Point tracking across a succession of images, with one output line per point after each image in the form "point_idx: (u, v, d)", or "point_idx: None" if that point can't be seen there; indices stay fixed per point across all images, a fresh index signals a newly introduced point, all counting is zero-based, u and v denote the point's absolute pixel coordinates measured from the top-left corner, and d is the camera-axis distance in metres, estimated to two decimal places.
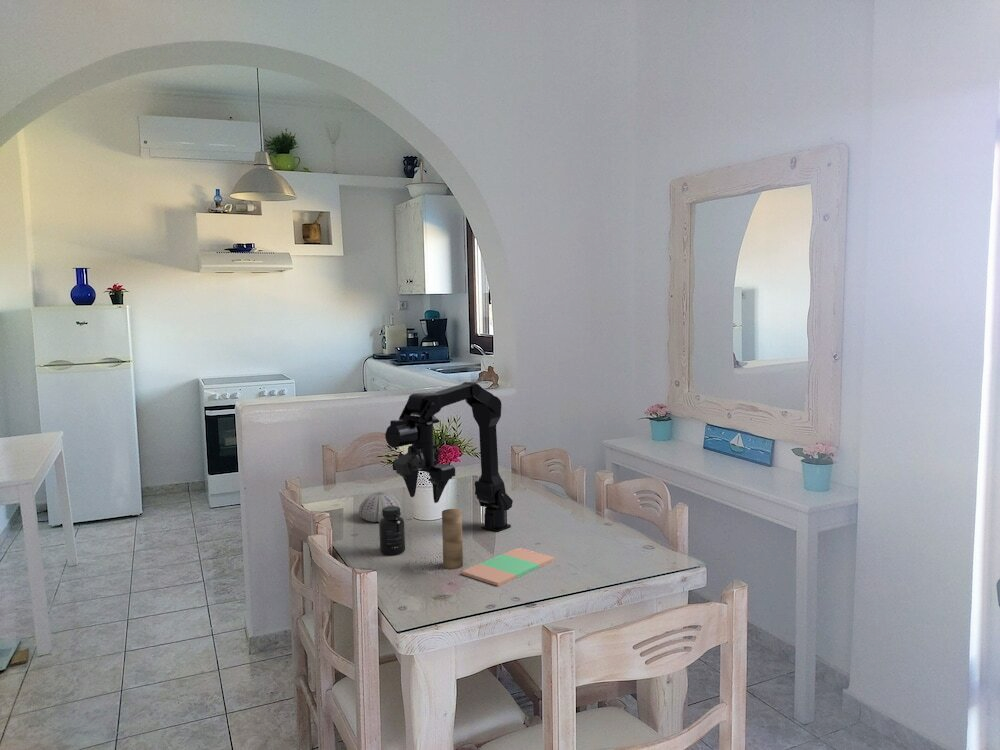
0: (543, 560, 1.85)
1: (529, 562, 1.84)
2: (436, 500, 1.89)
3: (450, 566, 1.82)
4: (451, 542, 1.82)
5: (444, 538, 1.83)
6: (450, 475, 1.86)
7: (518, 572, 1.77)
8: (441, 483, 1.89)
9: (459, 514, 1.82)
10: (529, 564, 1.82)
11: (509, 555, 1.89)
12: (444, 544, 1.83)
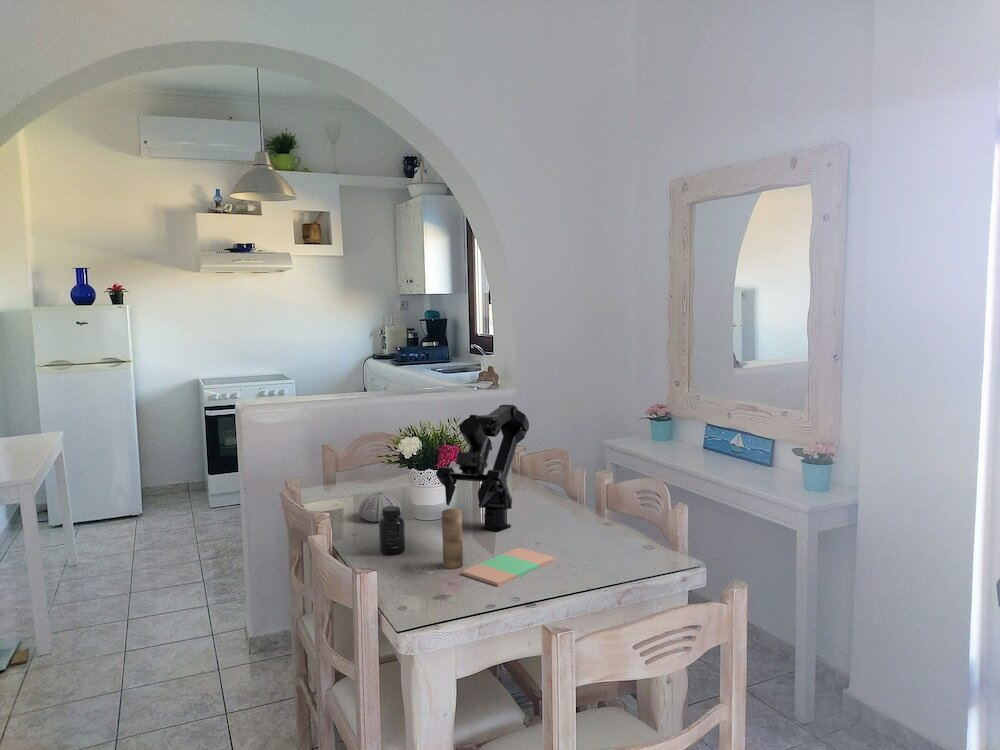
0: (543, 560, 1.85)
1: (529, 562, 1.84)
2: (481, 504, 1.90)
3: (450, 566, 1.82)
4: (451, 542, 1.82)
5: (444, 538, 1.83)
6: (504, 484, 1.93)
7: (518, 572, 1.77)
8: (489, 491, 1.93)
9: (459, 514, 1.82)
10: (529, 564, 1.82)
11: (509, 555, 1.89)
12: (444, 544, 1.83)
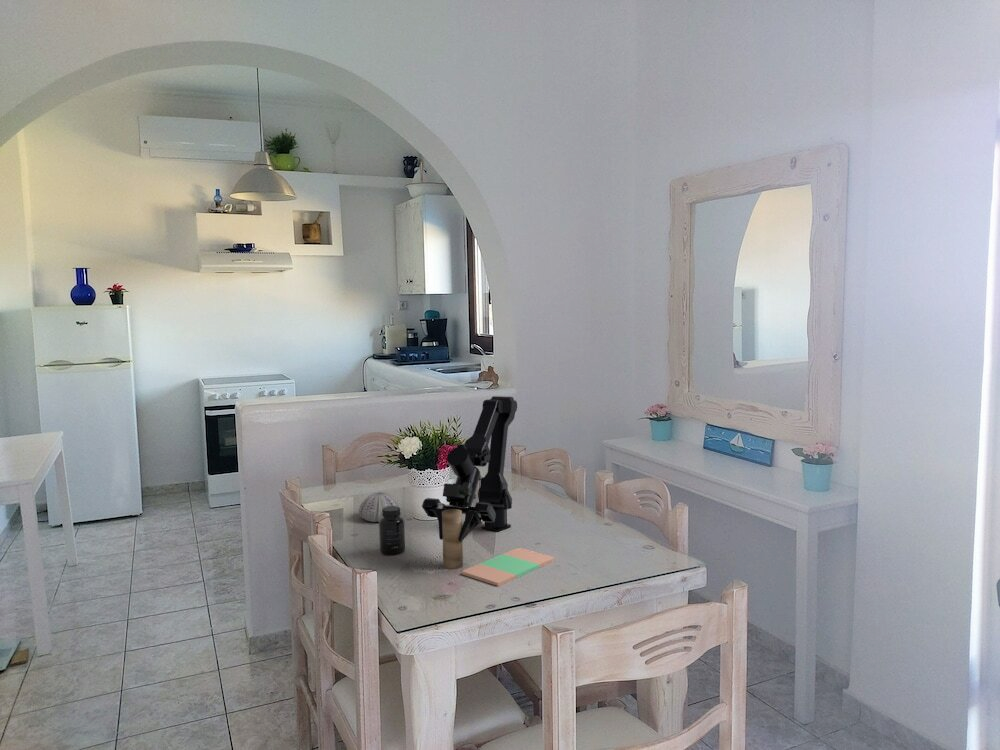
0: (543, 560, 1.85)
1: (529, 562, 1.84)
2: (461, 538, 1.82)
3: (450, 566, 1.82)
4: (451, 542, 1.82)
5: (444, 538, 1.83)
6: (492, 517, 1.85)
7: (518, 572, 1.77)
8: (470, 524, 1.85)
9: (459, 514, 1.82)
10: (529, 564, 1.82)
11: (509, 555, 1.89)
12: (444, 544, 1.83)
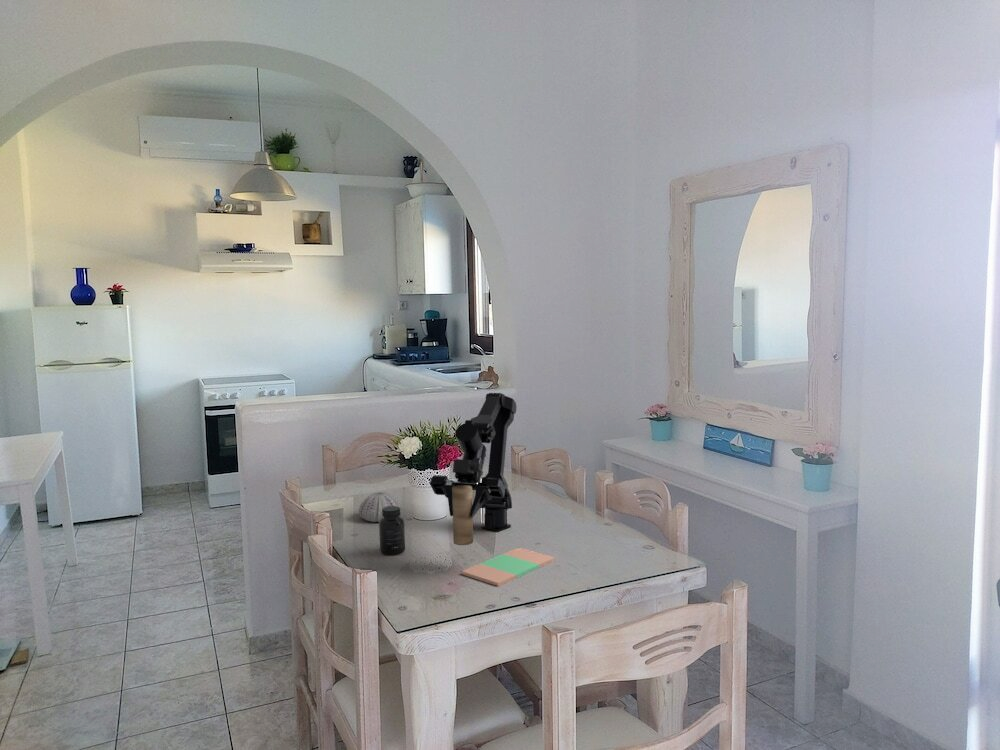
0: (543, 560, 1.85)
1: (529, 562, 1.84)
2: (473, 513, 1.81)
3: (461, 542, 1.81)
4: (462, 518, 1.80)
5: (455, 514, 1.81)
6: (503, 492, 1.84)
7: (518, 572, 1.77)
8: (480, 500, 1.84)
9: (470, 490, 1.81)
10: (529, 564, 1.82)
11: (509, 555, 1.89)
12: (454, 520, 1.81)
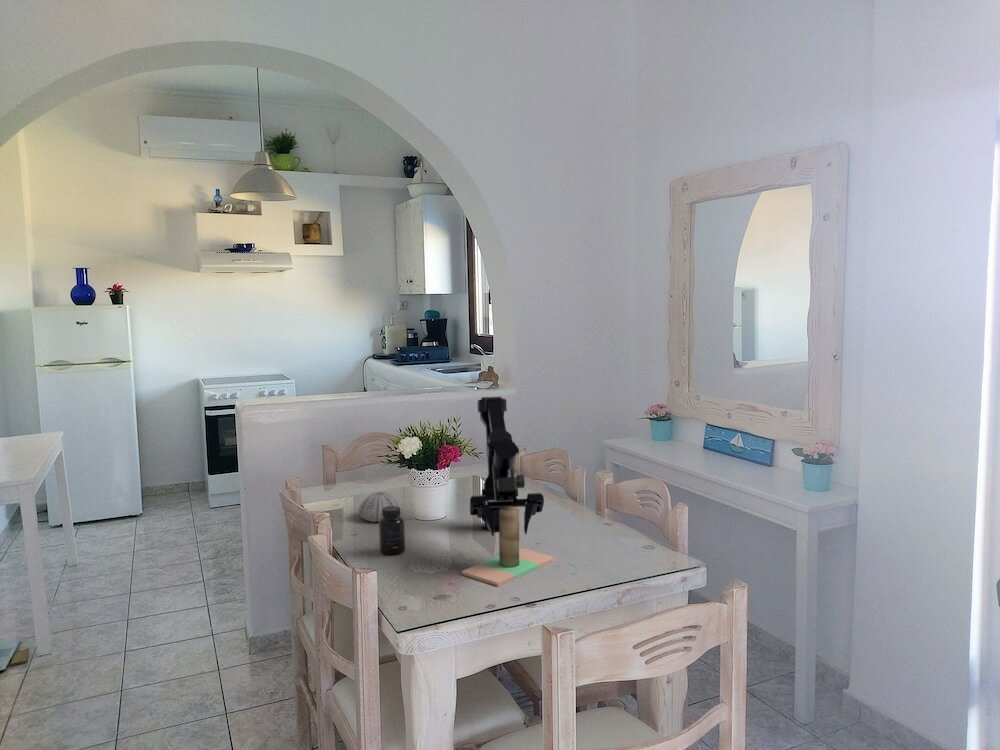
0: (543, 560, 1.85)
1: (529, 562, 1.84)
2: None
3: (511, 564, 1.80)
4: (513, 540, 1.80)
5: (505, 537, 1.80)
6: (542, 506, 1.87)
7: (518, 572, 1.77)
8: None
9: (518, 511, 1.81)
10: (529, 564, 1.82)
11: None
12: (504, 543, 1.80)
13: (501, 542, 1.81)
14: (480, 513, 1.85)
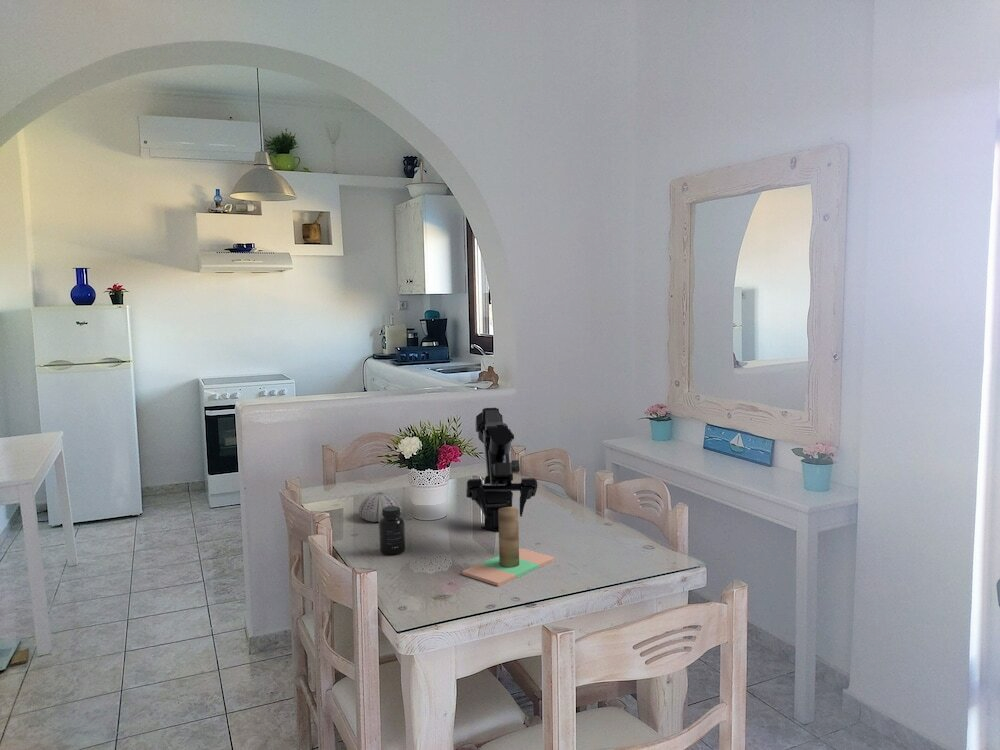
0: (543, 560, 1.85)
1: (529, 562, 1.84)
2: (522, 513, 1.91)
3: (511, 564, 1.80)
4: (512, 540, 1.80)
5: (504, 537, 1.80)
6: None
7: (518, 572, 1.77)
8: None
9: None
10: (529, 564, 1.82)
11: None
12: (504, 543, 1.80)
13: (501, 542, 1.81)
14: (474, 496, 1.94)
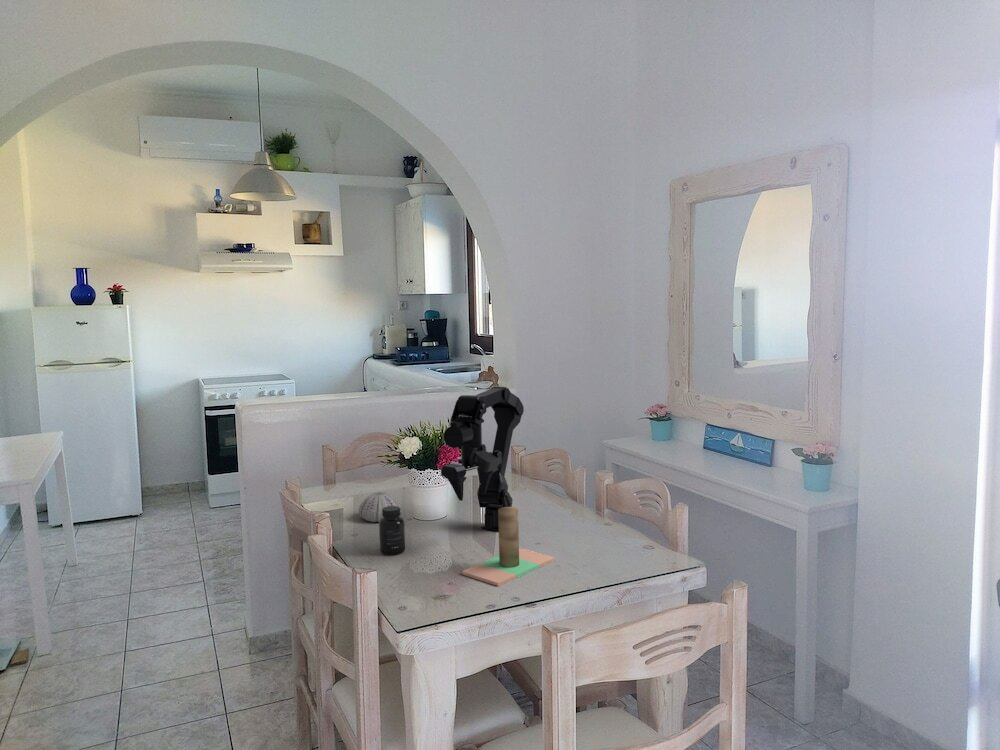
0: (543, 560, 1.85)
1: (529, 562, 1.84)
2: None
3: (511, 564, 1.80)
4: (512, 540, 1.80)
5: (504, 537, 1.80)
6: None
7: (518, 572, 1.77)
8: None
9: None
10: (529, 564, 1.82)
11: None
12: (504, 543, 1.80)
13: (501, 542, 1.81)
14: None
